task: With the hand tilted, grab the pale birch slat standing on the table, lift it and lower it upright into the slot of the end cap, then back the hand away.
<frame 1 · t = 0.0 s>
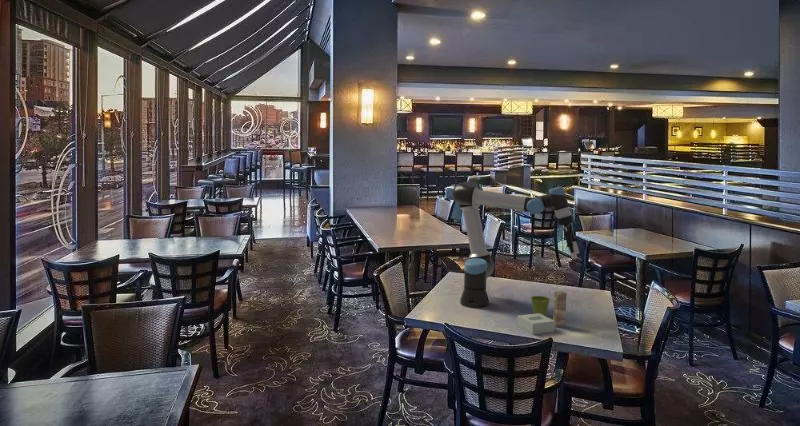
hand: (575, 256, 274), 28 cm above the table, tool tilted 20°, fingers open, 13 cm apart
plant pot: (539, 315, 266), on the table
slat: (558, 325, 250), on the table
end cap: (535, 328, 246), on the table
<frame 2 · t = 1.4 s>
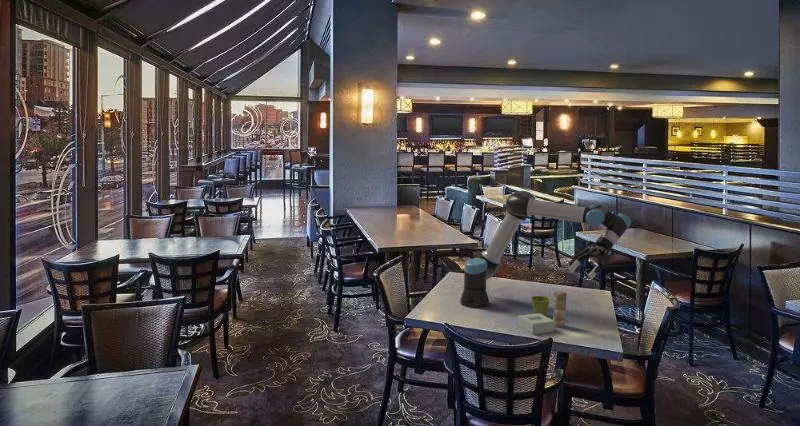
hand: (579, 274, 251), 24 cm above the table, tool tilted 45°, fingers open, 13 cm apart
nothing on the table moved.
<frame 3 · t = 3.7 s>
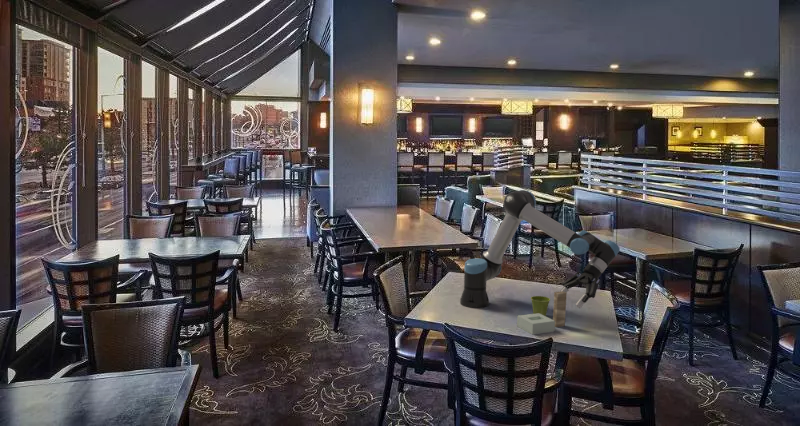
hand: (567, 302, 249), 11 cm above the table, tool tilted 45°, fingers open, 13 cm apart
nothing on the table moved.
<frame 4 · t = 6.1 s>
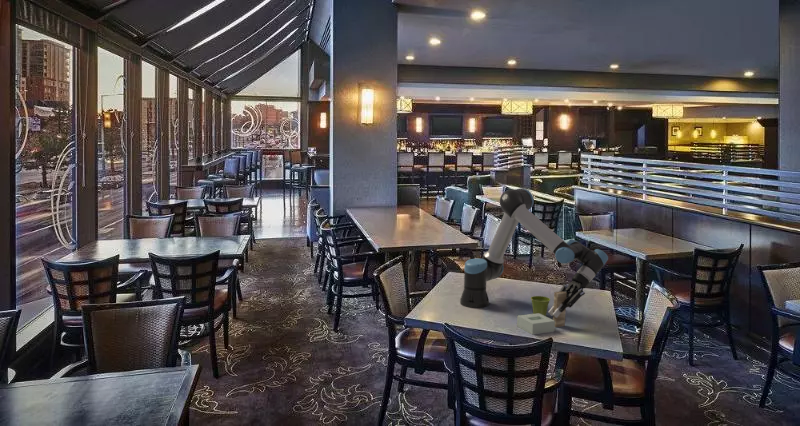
hand: (552, 314, 248), 6 cm above the table, tool tilted 45°, fingers closed on slat, 2 cm apart
slat: (558, 325, 250), on the table, touching gripper
everything else where it was.
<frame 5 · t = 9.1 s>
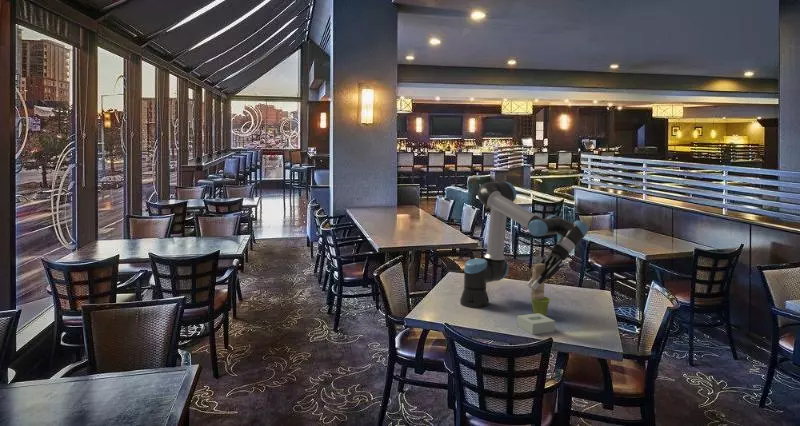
hand: (530, 287, 242), 20 cm above the table, tool tilted 45°, fingers closed on slat, 2 cm apart
slat: (537, 298, 244), point 14 cm above the table, touching gripper
everything else where it was.
when the fingers open (8 cm above the table, at t = 12.2 s): slat stays where it is, resting on end cap.
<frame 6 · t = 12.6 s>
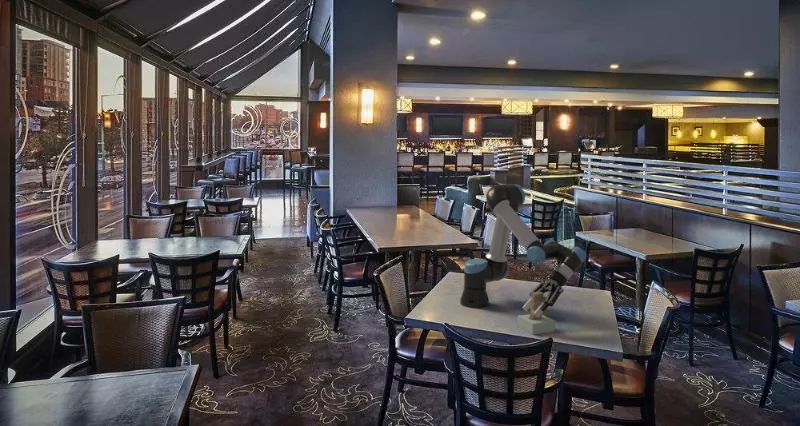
hand: (530, 312, 243), 8 cm above the table, tool tilted 45°, fingers open, 8 cm apart
slat: (535, 326, 245), point 1 cm above the table, touching end cap
everything else where it was.
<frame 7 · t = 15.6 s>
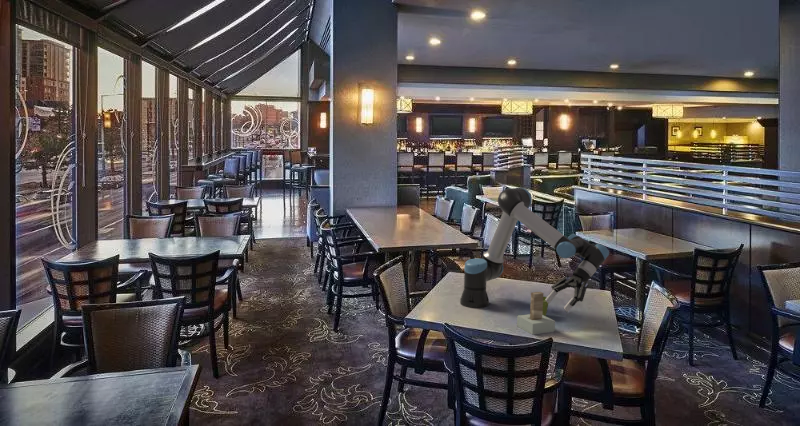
hand: (555, 305, 248), 10 cm above the table, tool tilted 45°, fingers open, 13 cm apart
nothing on the table moved.
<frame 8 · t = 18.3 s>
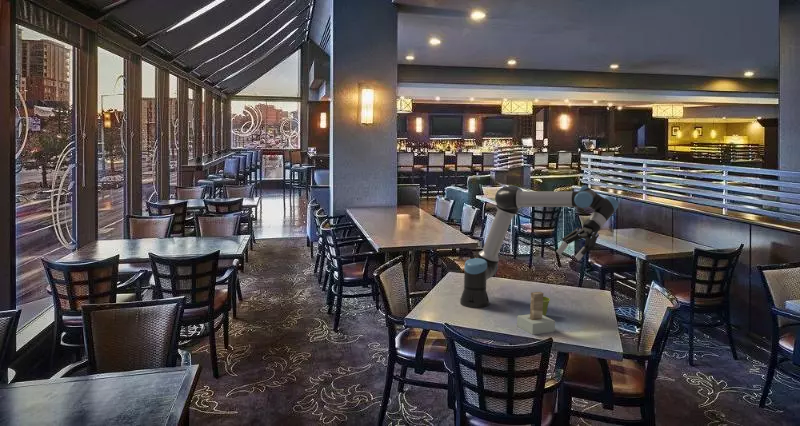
hand: (567, 256, 255), 32 cm above the table, tool tilted 45°, fingers open, 13 cm apart
nothing on the table moved.
at the end: slat 0.0 cm off-centre on the end cap, point 1.0 cm above the end cap's base; slat tilted 0°; the gripper is holding nothing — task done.
